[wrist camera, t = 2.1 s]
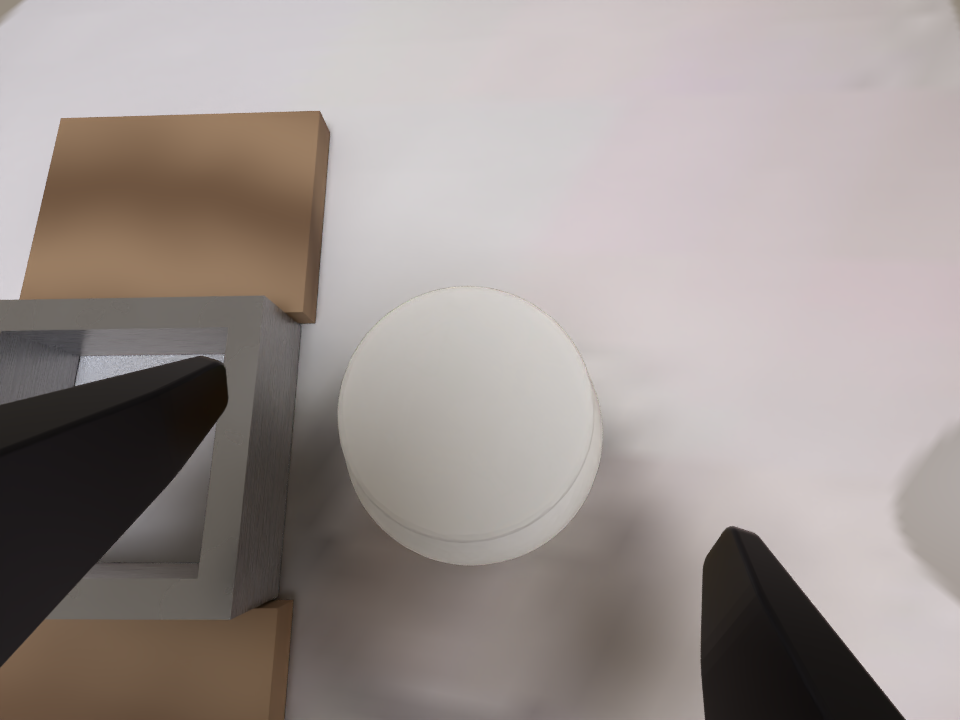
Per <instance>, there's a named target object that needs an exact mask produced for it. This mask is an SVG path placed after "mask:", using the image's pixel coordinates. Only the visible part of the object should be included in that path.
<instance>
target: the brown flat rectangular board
mask: <svg viewBox="0 0 960 720" xmlns="http://www.w3.org/2000/svg"><path fill="white" fill-rule="evenodd" d="M329 138H330V131H329V129H328V127H327V125H326V123H325V121H324V119H323V117H322V114H321V112H320V111H299V112H264V113H229V114H194V115H159V116H124V117H89V118H61V121H60V125H59V129H58V134H57V138H56V142H55V147H54V151H53V156H52V160H51V164H50V169H49V173H48V177H47V182H46V186H45V190H44V195H43V199H42V203H41V208H40V212H39V216H38V221H37V225H36V229H35V234H34V238H33V242H32V247H31V251H30V255H29V260H28V264H27V269H26V273H25V277H24V282H23V286H22V290H21V295H20V299H19V300H32V299H89V298H147V297H205V296H262V295H264V296H266V297H267V298H268V299H269V300H270V301H272V302H273V303H274V304H275V305H276V306H278V307H279V308H280V309H281V310H282V311H284V312H285V313H286V314H287V315H288V316H290V317H291V318H292V319H293V320H294V321H296V322H297V323H315V318H316V305H317V292H318V280H319V267H320V254H321V241H322V228H323V215H324V203H325V190H326V177H327V164H328V151H329ZM292 613H293V600H270V601H268V602H266V603H264V604H262V605H260V606H258V607H256V608H254V609H251V610H249V611H247V612H245V613H243V614H241V615H239V616H237V617H235V618H233V619H231V620H114V619H45V620H44V621H43V622H42V623H41V624H40V625H39V626H38V627H37V628H36V630H35V631H34V632H33V633H32V634H31V635H30V636H29V637H28V638H27V639H26V640H25V642H24V643H23V644H22V645H21V646H20V647H19V648H18V649H17V650H16V651H15V652H14V653H13V655H12V656H11V657H10V658H9V659H8V660H7V661H6V662H5V663H4V664H3V665H2V667H1V668H0V720H284V716H285V703H286V690H287V677H288V665H289V652H290V639H291V626H292Z"/></svg>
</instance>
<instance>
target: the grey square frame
mask: <svg viewBox="0 0 960 720" xmlns="http://www.w3.org/2000/svg"><path fill="white" fill-rule="evenodd" d="M300 334H301V326H300V325H299V324H298V323H297V322H296V321H294V320H293V319H292V318H291V317H290V316H288V315H287V314H286V313H285V312H284V311H282V310H281V309H280V308H279V307H278V306H276V305H275V304H274V303H273V302H272V301H270V300H269V299H268V298H267V297H266V296H264V295H262V296H205V297H147V298H89V299H32V300H0V405H1V404H5V403H9V402H13V401H17V400H21V399H25V398H29V397H33V396H37V395H41V394H46V393H50V392H54V391H58V390H62V389H66V388H70V387H74V382H75V377H76V372H77V367H78V361H79V356H108V355H180V354H225V357H224V365H225V367H226V374H227V385H228V396H229V399H228V404H227V407H226V409H225V411H224V412H223V414H222V415H221V416H220V418H219V419H218V420H217V423H216V431H215V440H214V448H213V456H212V464H211V473H210V481H209V489H208V497H207V506H206V514H205V522H204V530H203V538H202V547H201V555H200V563H96V564H95V565H94V566H93V567H92V568H91V570H90V571H89V572H88V573H87V574H86V575H85V576H84V577H83V578H82V579H81V580H80V582H79V583H78V584H77V585H76V586H75V587H74V588H73V589H72V590H71V591H70V592H69V594H68V595H67V596H66V597H65V598H64V599H63V600H62V601H61V602H60V603H59V604H58V606H57V607H56V608H55V609H54V610H53V611H52V612H51V613H50V614H49V615H48V616H47V618H46V619H114V620H231V619H233V618H235V617H237V616H239V615H241V614H243V613H245V612H247V611H249V610H251V609H254V608H256V607H258V606H260V605H262V604H264V603H266V602H268V601H270V600H272V599H274V598H276V597H278V593H279V582H280V570H281V558H282V546H283V534H284V523H285V511H286V499H287V487H288V475H289V464H290V452H291V440H292V428H293V417H294V405H295V393H296V381H297V369H298V358H299V346H300Z"/></svg>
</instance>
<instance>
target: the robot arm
mask: <svg viewBox="0 0 960 720" xmlns="http://www.w3.org/2000/svg"><path fill="white" fill-rule="evenodd" d="M228 399H229V396H228V385H227V374H226V367H225V365H224V364H223V363H222V362H220V361H218V360H215V359H211V358H208V357H205V356H197V357H193V358H189V359H185V360H181V361H177V362H172V363H168V364H164V365H160V366H156V367H152V368H148V369H144V370H140V371H136V372H131V373H127V374H123V375H119V376H115V377H111V378H107V379H103V380H99V381H95V382H91V383H86V384H82V385H78V386H74V387H70V388H66V389H62V390H58V391H54V392H50V393H46V394H41V395H37V396H33V397H29V398H25V399H21V400H17V401H13V402H9V403H5V404H1V405H0V668H1V667H2V665H3V664H4V663H5V662H6V661H7V660H8V659H9V658H10V657H11V656H12V655H13V653H14V652H15V651H16V650H17V649H18V648H19V647H20V646H21V645H22V644H23V643H24V642H25V640H26V639H27V638H28V637H29V636H30V635H31V634H32V633H33V632H34V631H35V630H36V628H37V627H38V626H39V625H40V624H41V623H42V622H43V621H44V620H45V619H46V618H47V616H48V615H49V614H50V613H51V612H52V611H53V610H54V609H55V608H56V607H57V606H58V604H59V603H60V602H61V601H62V600H63V599H64V598H65V597H66V596H67V595H68V594H69V592H70V591H71V590H72V589H73V588H74V587H75V586H76V585H77V584H78V583H79V582H80V580H81V579H82V578H83V577H84V576H85V575H86V574H87V573H88V572H89V571H90V570H91V568H92V567H93V566H94V565H95V564H96V563H97V562H98V561H99V560H100V559H101V558H102V556H103V555H104V554H105V553H106V552H107V551H108V550H109V549H110V548H111V547H112V546H113V544H114V543H115V542H116V541H117V540H118V539H119V538H120V537H121V536H122V535H123V534H124V532H125V531H126V530H127V529H128V528H129V527H130V526H131V525H132V524H133V523H134V522H135V520H136V519H137V518H138V517H139V516H140V515H141V514H142V513H143V512H144V511H145V510H146V508H147V507H148V506H149V505H150V504H151V503H152V502H153V501H154V500H155V499H156V498H157V496H158V495H159V494H160V493H161V492H162V491H163V490H164V489H165V488H166V487H167V485H168V484H169V483H170V482H171V481H172V480H173V479H174V477H175V476H176V475H177V474H178V472H179V471H180V470H181V469H182V467H183V466H184V465H185V463H186V462H187V461H188V459H189V458H190V457H191V455H192V454H193V453H194V451H195V450H196V449H197V447H198V446H199V445H200V443H201V442H202V441H203V439H204V438H205V437H206V435H207V434H208V433H209V431H210V430H211V429H212V427H213V426H214V424H215V423H216V422H217V420H218V419H219V418H220V416H221V415H222V414H223V412H224V411H225V409H226V407H227V404H228ZM701 676H702V689H703V701H704V712H705V720H906V719H905V718H904V717H903V716H902V714H901V713H900V712H899V711H898V709H897V708H896V707H895V706H894V704H893V703H892V702H891V701H890V699H889V698H888V697H887V696H886V694H885V693H884V692H883V691H882V689H881V688H880V687H879V686H878V684H877V683H876V682H875V681H874V679H873V678H872V677H871V676H870V674H869V673H868V672H867V671H866V670H865V668H864V667H863V666H862V665H861V663H860V662H859V661H858V660H857V658H856V657H855V656H854V655H853V653H852V652H851V651H850V650H849V648H848V647H847V646H846V645H845V643H844V642H843V641H842V640H841V638H840V637H839V636H838V635H837V633H836V632H835V631H834V630H833V628H832V627H831V626H830V625H829V623H828V622H827V621H826V620H825V618H824V617H823V616H822V615H821V613H820V612H819V611H818V610H817V608H816V607H815V606H814V605H813V603H812V602H811V601H810V600H809V598H808V597H807V596H806V595H805V593H804V592H803V591H802V590H801V588H800V587H799V586H798V585H797V583H796V582H795V581H794V580H793V578H792V577H791V576H790V575H789V573H788V572H787V571H786V570H785V568H784V567H783V566H782V565H781V563H780V562H779V561H778V560H777V558H776V557H775V556H774V555H773V553H772V552H771V551H770V550H769V548H768V547H767V546H766V545H765V543H764V542H763V541H762V540H761V538H760V537H759V536H758V535H756V534H755V533H753V532H750V531H747V530H744V529H741V528H738V527H734V526H730V527H728V528H726V529H725V530H724V531H723V533H722V534H721V536H720V537H719V539H718V540H717V542H716V543H715V545H714V546H713V547H712V549H711V550H710V552H709V553H708V555H707V557H706V559H705V561H704V565H703V579H702V616H701Z"/></svg>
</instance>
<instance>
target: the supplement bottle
mask: <svg viewBox="0 0 960 720" xmlns="http://www.w3.org/2000/svg"><path fill="white" fill-rule="evenodd" d="M337 421H338V432H339V438H340V443H341V447H342V451H343V454H344V457H345V460H346V465H347V469H348V473H349V476H350V479H351V482H352V484H353V487H354V489H355V491H356V494H357V496H358V498H359V500H360V501H361V503H362V505H363V506H364V508H365V509H366V511H367V512H368V513H369V515H370V516H371V517H372V519H373V520H374V521H375V522H376V523H377V524H378V525H379V526H380V527H381V528H382V529H383V530H384V531H385V532H386V533H387V534H388V535H389V536H391V537H392V538H393V539H395V540H396V541H397V542H399V543H400V544H401V545H403V546H404V547H406V548H408V549H410V550H412V551H414V552H416V553H418V554H420V555H422V556H425V557H427V558H430V559H432V560H436V561H440V562H444V563H449V564H455V565H467V566H473V565H488V564H494V563H499V562H503V561H508V560H511V559H514V558H517V557H520V556H523V555H525V554H527V553H529V552H531V551H533V550H535V549H537V548H539V547H540V546H542V545H543V544H545V543H546V542H548V541H549V540H551V539H552V538H553V537H555V536H556V535H557V534H558V533H559V532H560V531H561V530H562V529H564V528H565V527H566V526H567V524H568V523H569V522H570V521H571V520H572V519H573V517H574V516H575V515H576V514H577V512H578V511H579V510H580V508H581V506H582V505H583V503H584V502H585V500H586V498H587V496H588V494H589V492H590V490H591V487H592V485H593V482H594V479H595V477H596V474H597V471H598V468H599V464H600V459H601V454H602V443H603V426H602V417H601V410H600V405H599V401H598V398H597V394H596V391H595V389H594V386H593V384H592V381H591V379H590V377H589V374H588V371H587V369H586V366H585V363H584V361H583V359H582V357H581V355H580V353H579V351H578V349H577V348H576V346H575V344H574V343H573V341H572V340H571V339H570V337H569V336H568V335H567V333H566V332H565V331H564V330H563V329H562V328H561V327H560V326H559V324H558V323H557V322H556V321H555V320H553V319H552V318H551V317H550V316H549V315H547V314H546V313H545V312H543V311H542V310H541V309H539V308H538V307H536V306H535V305H533V304H531V303H529V302H528V301H526V300H524V299H522V298H520V297H517V296H515V295H512V294H509V293H506V292H503V291H500V290H496V289H492V288H483V287H475V286H461V287H450V288H445V289H439V290H435V291H431V292H428V293H425V294H423V295H420V296H417V297H415V298H413V299H411V300H409V301H407V302H405V303H403V304H402V305H400V306H398V307H397V308H395V309H394V310H392V311H391V312H389V313H388V314H387V315H386V316H385V317H383V318H382V319H381V320H380V321H379V322H378V323H377V324H376V325H375V326H374V327H373V328H372V329H371V330H370V331H369V332H368V333H367V335H366V336H365V337H364V338H363V340H362V341H361V343H360V344H359V346H358V347H357V349H356V351H355V352H354V354H353V356H352V357H351V360H350V362H349V364H348V367H347V370H346V372H345V375H344V377H343V380H342V384H341V389H340V393H339V401H338V413H337Z"/></svg>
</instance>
